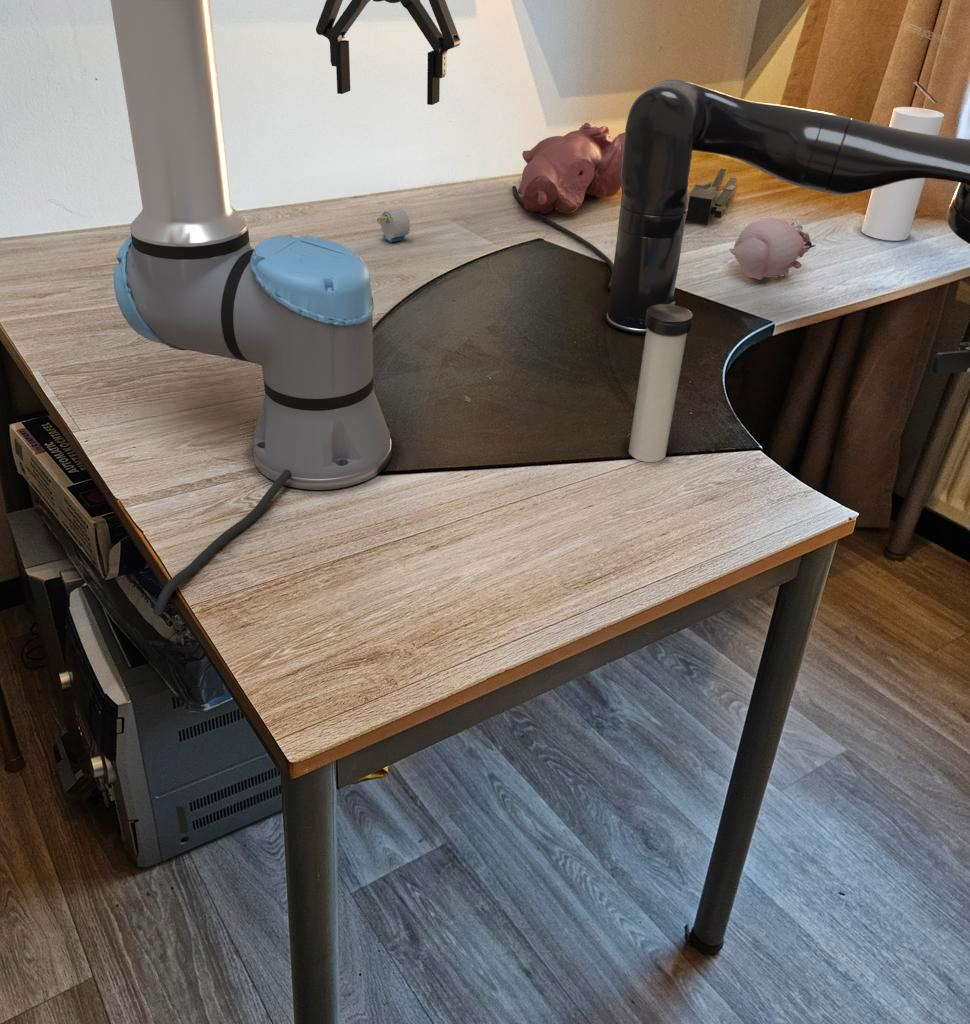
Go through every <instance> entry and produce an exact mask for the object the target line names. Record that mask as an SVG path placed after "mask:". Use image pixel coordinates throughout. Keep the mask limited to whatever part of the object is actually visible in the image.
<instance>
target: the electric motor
mask: <svg viewBox="0 0 970 1024" xmlns="http://www.w3.org/2000/svg"><path fill="white" fill-rule="evenodd" d="M376 222H377V224H378V225H380V227H381V231H382V233H383V238H384V240H385V241H388V242H389V243H394V242H395V243H396V242H399V241H404V240H405V238H406V236H407V235H409V233H410V229H411V222H410V218H409V216H408V213H407V212H406V210H404V209H403V208H397V209H392V210H387V211H384V212H383V213H382V214H381V216H378V217H377V218H376Z"/></svg>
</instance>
